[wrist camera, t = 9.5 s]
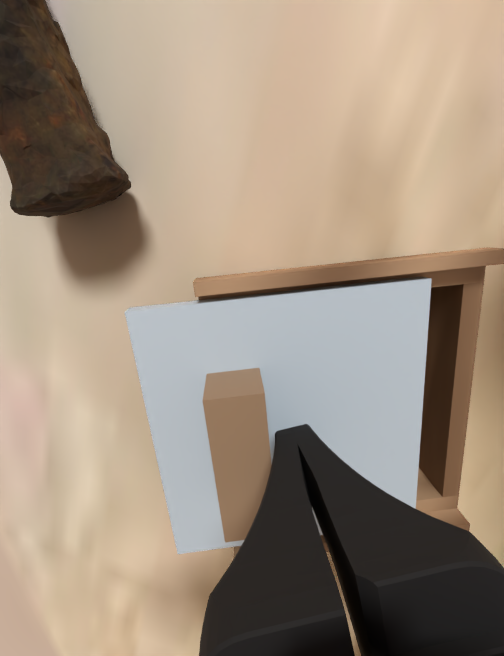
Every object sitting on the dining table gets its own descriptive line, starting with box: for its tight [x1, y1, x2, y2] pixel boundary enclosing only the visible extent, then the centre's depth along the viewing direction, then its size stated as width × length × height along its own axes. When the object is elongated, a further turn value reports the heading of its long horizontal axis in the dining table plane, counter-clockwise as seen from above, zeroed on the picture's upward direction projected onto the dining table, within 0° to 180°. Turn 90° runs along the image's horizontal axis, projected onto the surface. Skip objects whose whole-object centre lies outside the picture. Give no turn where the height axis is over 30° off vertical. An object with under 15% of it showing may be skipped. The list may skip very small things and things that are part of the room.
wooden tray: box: [193, 248, 504, 558], centre depth 15 cm, size 11×13×4 cm
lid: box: [125, 276, 432, 554], centre depth 13 cm, size 11×11×3 cm
